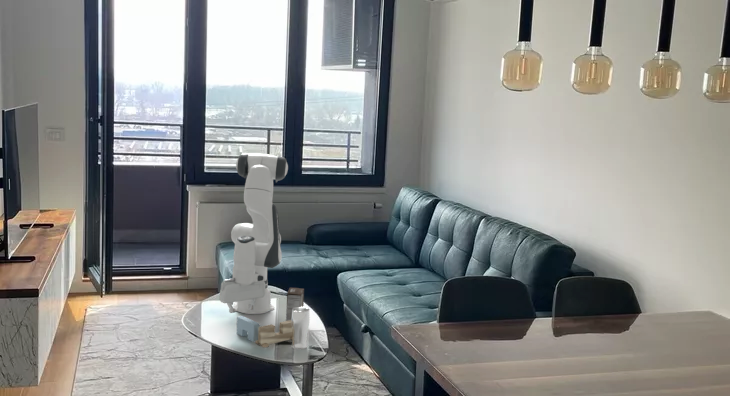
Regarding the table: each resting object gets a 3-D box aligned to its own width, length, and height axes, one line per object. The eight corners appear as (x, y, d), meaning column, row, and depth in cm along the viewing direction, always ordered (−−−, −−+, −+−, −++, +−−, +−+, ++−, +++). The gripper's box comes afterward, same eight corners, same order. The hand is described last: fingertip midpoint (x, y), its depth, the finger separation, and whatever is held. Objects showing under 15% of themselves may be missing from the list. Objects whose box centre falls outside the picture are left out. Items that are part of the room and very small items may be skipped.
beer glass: (305, 351, 263) (307, 312, 262) (287, 348, 265) (289, 310, 263) (310, 345, 270) (312, 307, 268) (293, 343, 272) (294, 306, 270)
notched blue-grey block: (236, 333, 279) (237, 316, 278) (241, 332, 281) (242, 315, 280) (253, 341, 270) (253, 324, 270) (258, 340, 272) (259, 323, 271)
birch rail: (255, 343, 269) (255, 325, 268) (288, 335, 280) (289, 318, 279) (264, 347, 265) (264, 330, 264) (297, 339, 276) (298, 322, 275)
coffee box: (288, 324, 295) (289, 287, 292) (303, 324, 294) (304, 288, 292) (285, 330, 286) (286, 292, 283) (300, 331, 285) (302, 293, 283)
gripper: (226, 281, 266) (224, 316, 267) (268, 276, 281) (266, 309, 282) (217, 278, 270) (215, 312, 272) (259, 272, 285) (257, 305, 286)
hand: (241, 310), depth 277 cm, fingers open, 8 cm apart
